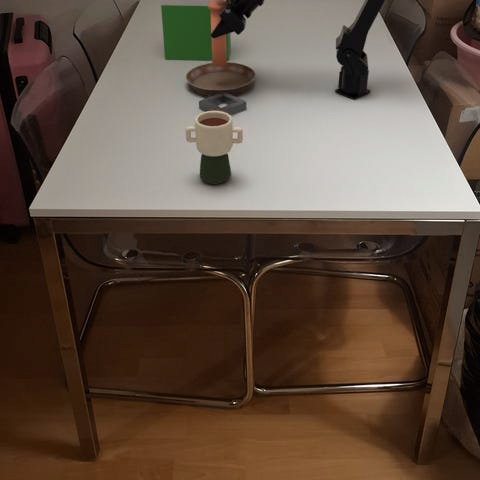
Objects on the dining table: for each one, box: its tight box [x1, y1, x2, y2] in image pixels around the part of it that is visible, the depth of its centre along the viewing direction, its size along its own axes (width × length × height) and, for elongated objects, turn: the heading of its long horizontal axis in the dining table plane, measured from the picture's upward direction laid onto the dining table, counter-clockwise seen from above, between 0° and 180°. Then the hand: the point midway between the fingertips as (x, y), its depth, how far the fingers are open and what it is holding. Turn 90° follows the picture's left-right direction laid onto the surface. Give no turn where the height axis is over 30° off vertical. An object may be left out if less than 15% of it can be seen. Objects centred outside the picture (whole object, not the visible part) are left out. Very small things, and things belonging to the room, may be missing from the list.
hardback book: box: [160, 0, 232, 62], centre depth 175 cm, size 18×7×24 cm, turn 85°
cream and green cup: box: [185, 111, 244, 185], centre depth 125 cm, size 11×7×13 cm, turn 86°
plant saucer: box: [185, 61, 256, 97], centre depth 165 cm, size 18×18×3 cm
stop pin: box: [208, 0, 228, 67], centre depth 157 cm, size 5×5×15 cm
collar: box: [198, 92, 247, 116], centre depth 154 cm, size 8×8×2 cm
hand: (213, 34), depth 157 cm, fingers closed on stop pin, 4 cm apart
